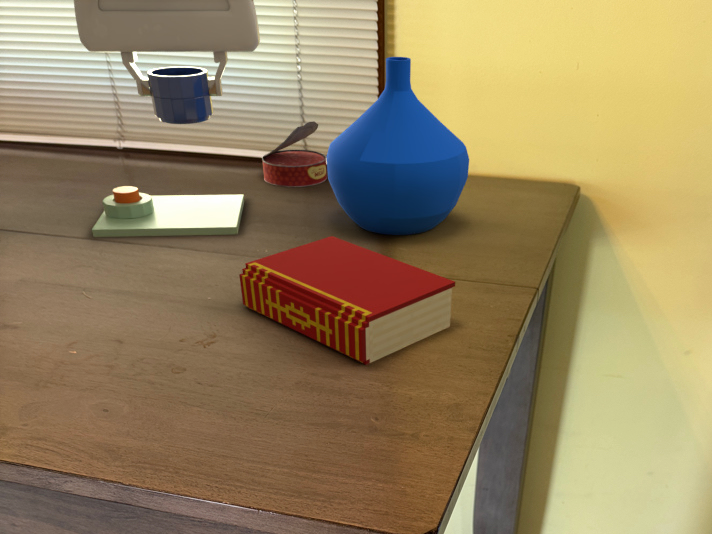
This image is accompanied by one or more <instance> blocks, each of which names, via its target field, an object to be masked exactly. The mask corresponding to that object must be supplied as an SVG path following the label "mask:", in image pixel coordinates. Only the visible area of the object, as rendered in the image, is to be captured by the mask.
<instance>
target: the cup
mask: <svg viewBox="0 0 712 534" xmlns="http://www.w3.org/2000/svg"><path fill="white" fill-rule="evenodd" d="M146 75H147V77H148V81H149V86H150V92H151V96H150V97H151V103H152V107H153V113H154V116H155V117H156V118H157V119H159V121H160V122H162V123H166V124H172V125H190V124H192V125H193V124H199V123H203V122H204V123H205V122H206V121H209V120H210V118H211V116H212V115H213V114H214V107H213V100H212V96H210V95H209V87H208V83H207V79H208V77H209V71H208V69H206V68H203V67H198V66H166V67H158V68H153V69H150V70H148V71H147V72H146Z"/></svg>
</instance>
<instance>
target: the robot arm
mask: <svg viewBox="0 0 712 534" xmlns="http://www.w3.org/2000/svg"><path fill="white" fill-rule="evenodd" d="M73 6H74V15H75V22H76V28H77V33H78V38H79V41H80V43H81V44H82V45H83V47H84V48H85V49H86V50H87V51H88V52H89V53H120V56H121V62H122V65H123V66H124V67H125V69H126V70H127V71H128V73H129V74H130V76H131V77H132V78H133V80H134V81H135V84H136V88H137V94H138V96H139V97H141V98H143V97H151V92H150V86H149V81H148V76H144V75H143V73H142V72H141V70H140V68H138V65H136V62H137V61H138V54H137V53H213V54H212V55H213V62H214V63H215V64H218V67H217V70H216V72H215V75H214V76H208V79H207V83H208V87H209V95H210V96H211V97H222V96H223V85H222V84H223V83H222V77H223V74H224V72H225V69H226V66H227V64H228V61H229V58H228V53H229V52H230V53H245V52H246V53H252V52H254V51H255V50H256V49H257V48H258V46H259V45H260V43H261V36H260V35H261V34H260V28H259V22H258V16H257V10H256V7H255V1H254V0H73Z"/></svg>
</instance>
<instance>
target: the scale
mask: <svg viewBox="0 0 712 534" xmlns="http://www.w3.org/2000/svg"><path fill="white" fill-rule="evenodd" d="M139 196H140V201H138V202H134V203H124V204H121V203H115V199H114V195H113V194H111V195H107V196H105V197H104V198H103V200H102V205H103V209H104V210H103V211H102V213H101V215H100V216H99V218H98V220H97V221H96V223H95V224H94V225H93V227H92V228H91V233H92V236H93V238H113V237H114V238H115V237H117V238H119V237H165V236H166V237H167V236H169V237H170V236H172V237H173V236H218V235H219V236H220V235H221V236H223V235H224V236H225V235H227V236H228V235H238V234H239V229H240V226H241V225H240V224H241V220H242V215H243V210H244V206H245V195H244V194H195V195H194V194H184V195H183V194H181V195H180V194H179V195H177V194H175V195H174V194H173V195H149V194H148V193H144V192H139Z"/></svg>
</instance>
